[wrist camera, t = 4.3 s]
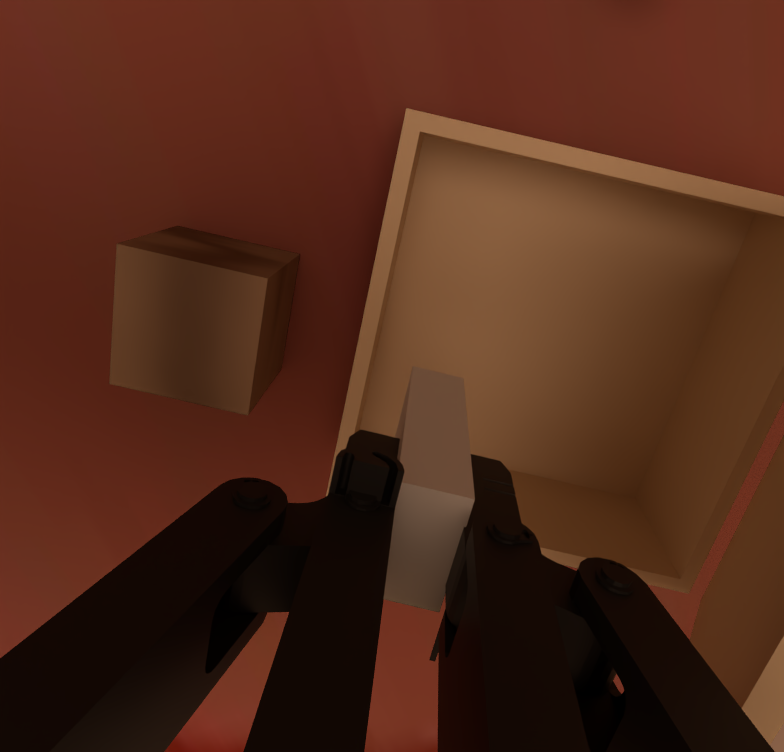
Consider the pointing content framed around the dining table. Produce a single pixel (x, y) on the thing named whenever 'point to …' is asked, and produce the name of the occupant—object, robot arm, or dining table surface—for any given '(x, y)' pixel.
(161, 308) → the block
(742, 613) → the lid
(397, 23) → the dining table surface
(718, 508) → the box
